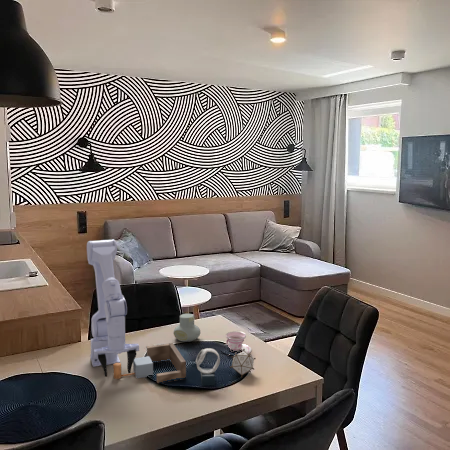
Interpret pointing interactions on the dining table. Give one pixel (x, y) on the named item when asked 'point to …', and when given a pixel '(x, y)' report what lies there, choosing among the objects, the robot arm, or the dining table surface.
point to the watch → (207, 374)
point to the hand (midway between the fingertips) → (117, 373)
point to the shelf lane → (163, 354)
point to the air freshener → (187, 329)
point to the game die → (242, 362)
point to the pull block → (136, 368)
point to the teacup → (237, 341)
